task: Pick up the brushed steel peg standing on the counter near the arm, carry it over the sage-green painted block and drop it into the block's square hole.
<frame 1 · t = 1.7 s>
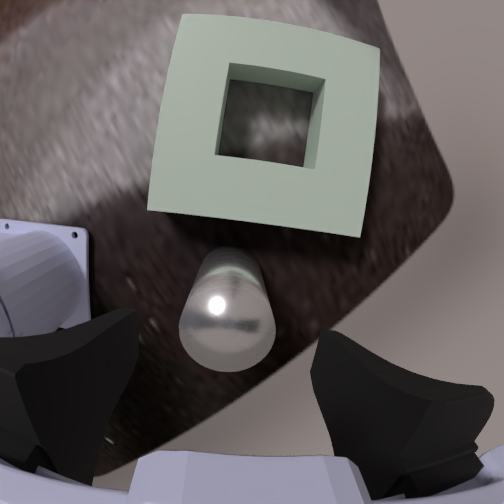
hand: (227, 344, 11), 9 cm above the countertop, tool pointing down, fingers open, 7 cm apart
steel peg: (230, 275, 20), on the countertop
hole block: (266, 123, 18), on the countertop
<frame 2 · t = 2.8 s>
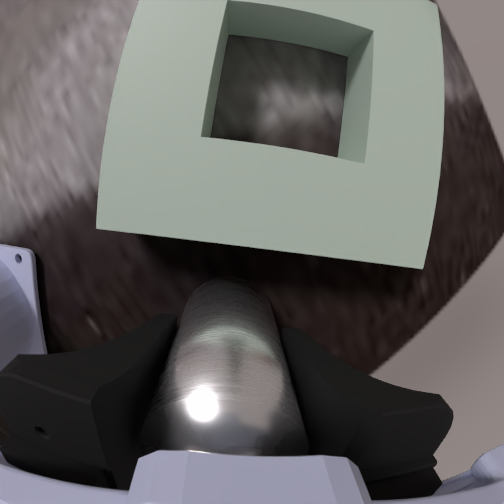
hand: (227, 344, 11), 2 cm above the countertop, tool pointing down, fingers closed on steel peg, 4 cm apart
steel peg: (228, 318, 14), on the countertop, touching gripper
hole block: (282, 95, 11), on the countertop
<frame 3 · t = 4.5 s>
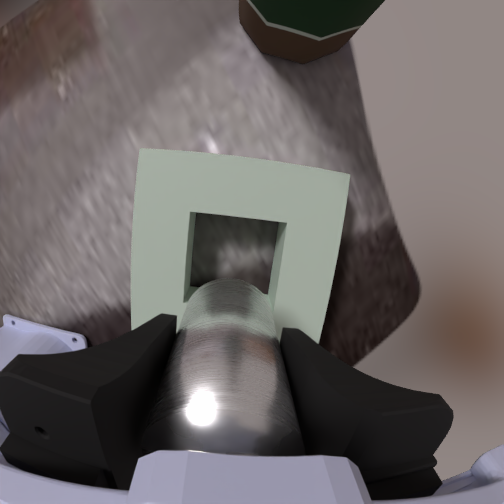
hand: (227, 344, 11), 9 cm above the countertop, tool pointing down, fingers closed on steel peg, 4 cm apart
steel peg: (228, 319, 14), point 7 cm above the countertop, touching gripper
beer bottle: (292, 23, 17), on the countertop
hole block: (233, 252, 20), on the countertop
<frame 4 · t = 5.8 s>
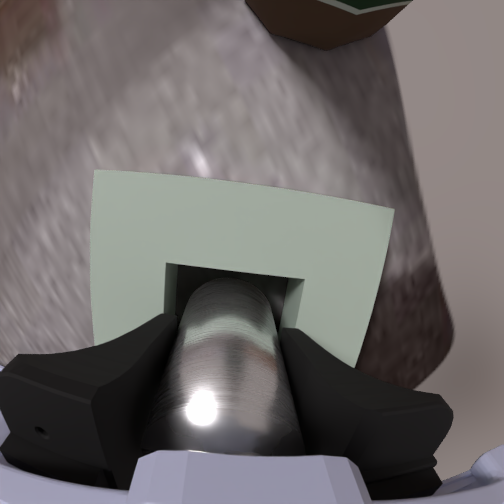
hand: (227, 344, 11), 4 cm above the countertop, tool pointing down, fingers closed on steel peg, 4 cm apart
steel peg: (228, 318, 14), point 1 cm above the countertop, touching gripper
hole block: (229, 305, 15), on the countertop
when the fingers open (4 cm above the countertop, at t = 6.5 s): steel peg drops 1 cm, resting in hole block.
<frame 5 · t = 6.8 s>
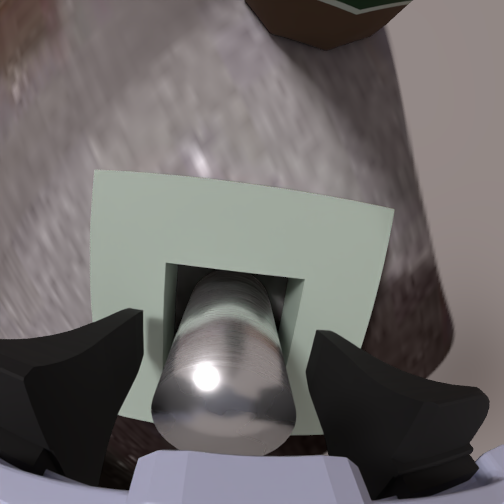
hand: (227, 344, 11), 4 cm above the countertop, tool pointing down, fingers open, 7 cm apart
steel peg: (229, 307, 15), resting in hole block
hole block: (229, 305, 15), on the countertop
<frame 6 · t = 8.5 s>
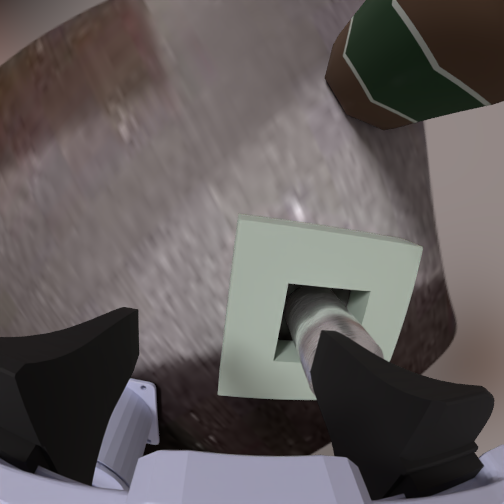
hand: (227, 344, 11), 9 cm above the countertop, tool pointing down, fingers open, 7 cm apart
steel peg: (311, 310, 21), resting in hole block
beer bottle: (371, 81, 18), on the countertop
hole block: (311, 308, 21), on the countertop
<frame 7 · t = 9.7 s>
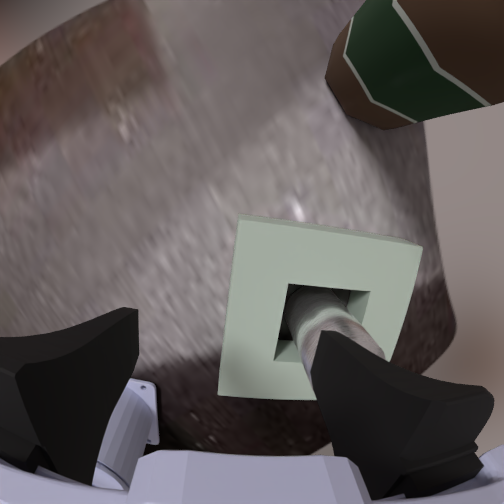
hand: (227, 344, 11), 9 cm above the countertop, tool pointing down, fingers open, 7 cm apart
steel peg: (311, 310, 21), resting in hole block
beer bottle: (371, 81, 18), on the countertop
hole block: (311, 308, 21), on the countertop
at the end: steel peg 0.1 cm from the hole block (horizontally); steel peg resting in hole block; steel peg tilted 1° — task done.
